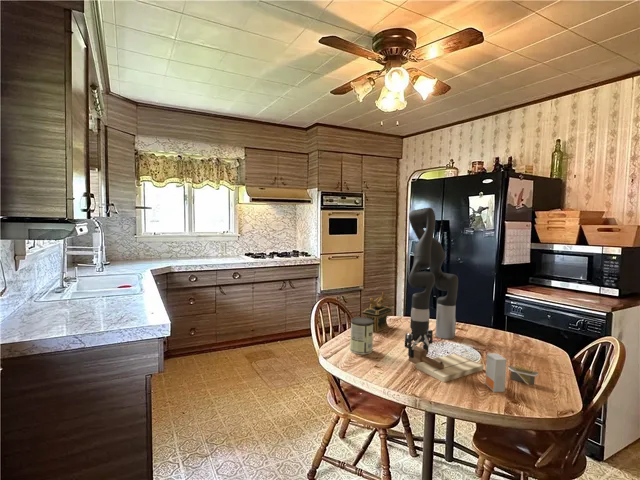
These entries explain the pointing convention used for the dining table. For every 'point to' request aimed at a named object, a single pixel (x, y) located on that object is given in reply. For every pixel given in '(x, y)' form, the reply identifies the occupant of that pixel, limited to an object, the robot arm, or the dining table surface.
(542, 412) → the dining table surface
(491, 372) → the skincare box
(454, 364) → the board
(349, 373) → the dining table surface
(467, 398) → the dining table surface
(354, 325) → the coffee can
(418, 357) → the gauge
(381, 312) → the decorative box
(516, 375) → the grey storage bin
